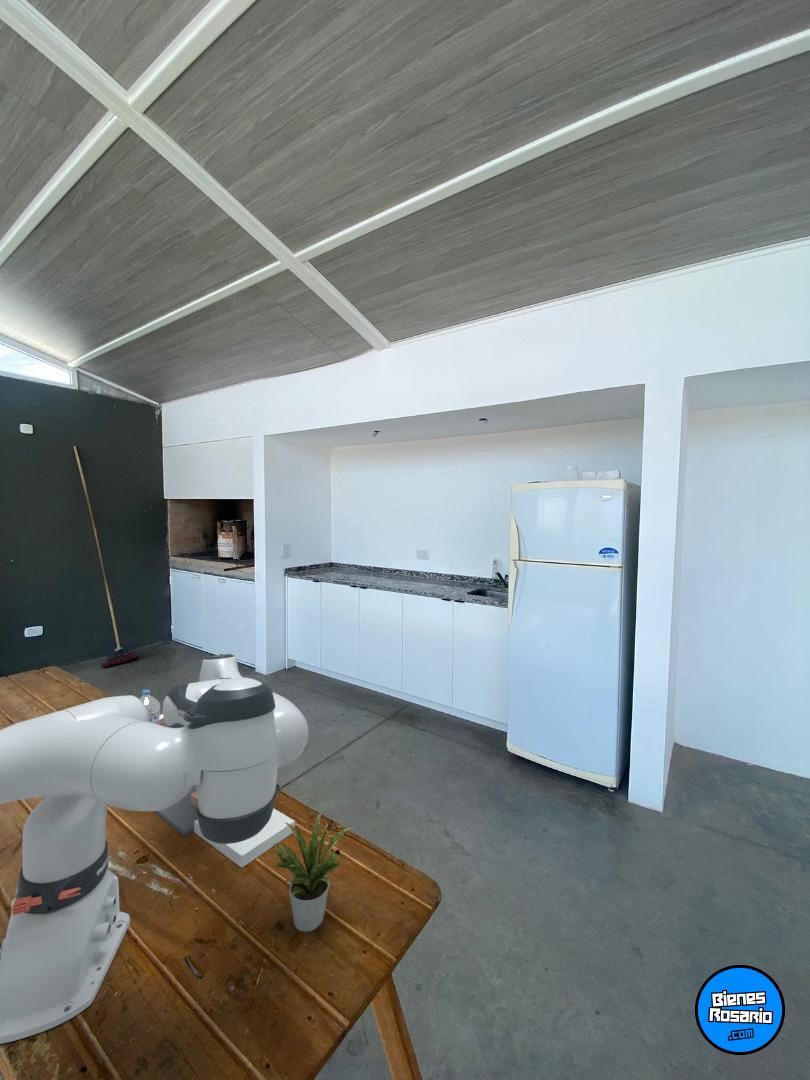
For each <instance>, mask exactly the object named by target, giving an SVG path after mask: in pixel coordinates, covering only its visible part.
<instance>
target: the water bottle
mask: <svg viewBox="0 0 810 1080" xmlns="http://www.w3.org/2000/svg"><path fill="white" fill-rule="evenodd" d="M150 694H151V690H150V689H144V690H142V691H141V696H140V698H139V697H138V699H140V700H141V701H142V702H143V703H144V705H145V706H146V708H147V710H148V713H149V717H150V722H151V723H155V724H159V725H160V715H161V714H160V710H161V704H160V702H159V701H158V699H156V697H154V696H152V695H150Z"/></svg>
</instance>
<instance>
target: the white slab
mask: <svg viewBox="0 0 810 1080" xmlns="http://www.w3.org/2000/svg"><path fill="white" fill-rule="evenodd" d="M285 822H286V823H288V824H290V825H292V826H293V827H294V828H296V825H295V824H296V820H294V819H292V818H291V817H289V816H287V815H285V814H284V813H283V812H280V811H279V810H277V809H276V808H273V812H272V815H271V818H270V820H269V822H268V823H267V824H266V825H265V827H264V828H263V829H262V830H261V831H260V832H259V833H258V834H256V835H255V836H253V837H251V838H249V839H247V840H244V841H241V842H237V843H231V844H219V843H215V842H212V841H210V840H208V839H206V838H205V837H204V836H203V835H202V833H201V830H200V827H199V823H198V819H197V820H195V821H194V831H193V833H195V834H196V835H198V836H199V837H200V838H201V839H203V840H204V841H206V843H208V844H209V845H210V846H211V847H214V848H215V850H218V851H219V852H220V853H221V854H223V855H224V856H225V857H226V858H228V859H229V860H230V861H232V862H233V863H235V864H236V865H237V866H239V867H240V868H244V867H245V866H247V865H249V864H250V863H251V862H253V861H254V860H256V859H257V858H259V857H260V856H261V855H263V854H265V853H266V852H268V851H269V850H270V849H272V848H274V847H273V845H275V846H277V845H276V844H274V843H280V842H282V841H283V840H284V839H286V838H287V837H289V836H290V835H292V834H293V831H292V830H291V829H290V828H289V827H288V825H287V824H286V823H285ZM272 844H273V845H272ZM255 858H256V859H255Z"/></svg>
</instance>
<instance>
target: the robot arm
mask: <svg viewBox="0 0 810 1080" xmlns="http://www.w3.org/2000/svg"><path fill="white" fill-rule="evenodd" d="M238 667H239V666H238V659H237V657H236V656H235V655H233V654H229V653H226V654H217V655H216V654H215V655H210V656H207V657H205V658H204V659H203V660H202V662H201V667H200V671H199V678H198V679H199V681H196V682H185V683H182V682H181V683H177V684H175V685H174V686H173V687H172V688H170V690H169V691H168V692H167V693H166V695H165V696H164V699H163V703H162V717H163V720H164V722H165V725H161V724H160V723H159V724H155V723H151V722H150V717H149V713H148V710H147V708H146V706H145V705H144V703H143V702H142V701H141V700H140V699H139V697H137V696H134V695H131V694H128V695H117V696H116V695H115V696H110V697H108V696H107V697H102V698H98V699H96V700H91V701H89V702H85V703H82V704H78V705H74V706H71V707H67V708H64V709H61V710H58V711H54V712H51V713H47V714H44V715H41V716H37V717H34V718H31V719H27V720H23V721H19V722H17V723H14V724H11V725H8V726H7V727H4V728H1V729H0V804H5V803H9V802H15V801H20V800H21V801H22V800H29V799H38V798H39V799H41V798H44V799H43V800H41V801H40V802H39V803H38V804H37V805H36V806H35V807H34V808H33V810H32V811H31V812H30V813H29V815H28V817H27V819H26V820H25V823H24V826H23V829H22V867H21V869H20V871H19V875H18V880H17V882H16V883H17V884H16V896H15V897H14V899H13V900H11V912H10V917H9V921H8V924H7V925H8V926H7V930H6V932H5V938H4V939H2V940H1V942H0V1044H7V1043H10V1042H14V1041H17V1040H21V1039H25V1038H27V1037H32V1036H34V1035H38V1034H40V1033H44V1032H46V1031H48V1030H50V1029H53V1028H56V1027H58V1026H60V1025H61V1024H63V1023H66V1022H67V1021H69V1020H71V1019H72V1018H74V1017H76V1016H78V1015H79V1014H80V1013H82V1012H83V1011H84V1010H86V1009H87V1008H88V1007H90V1006H91V1005H92V1003H93V1002H94V1000H95V999H96V996H97V994H98V992H99V990H100V987H101V986H102V983H103V981H104V979H105V978H106V975H107V973H108V971H109V968H110V966H111V964H112V962H113V961H114V958H115V956H116V954H117V951H118V949H119V947H120V946H121V943H122V941H123V939H124V937H125V934H126V933H127V931H128V928H129V926H130V924H131V916H130V915H129V913H127V912H124V911H120V895H119V893H120V891H119V889H120V888H119V877H118V876H117V875H116V874H114V873H113V872H112V871H111V870H110V869H109V857H110V850H109V844H108V841H107V839H106V835H107V833H106V832H107V828H106V827H107V815H108V814H107V813H108V806H111V807H113V808H118V809H121V810H126V811H133V812H153V811H159V810H164V809H166V808H169V807H171V806H173V805H174V804H176V803H177V802H179V801H180V800H181V799H182V798H183V797H184V796H185V795H186V794H187V793H188V792H189V790H190V789H191V788H192V786H194V785H196V788H197V798H198V805H199V806H198V808H197V817H198V823H199V827H200V830H201V833H202V835H203V836H204V837H205V838H206V839H208V840H210V841H212V842H215V843H219V844H231V843H237V842H241V841H244V840H247V839H249V838H251V837H253V836H255V835H256V834H258V833H259V832H260V831H261V830H262V829H263V828H264V827H265V825H266V824H267V823H268V822H269V820H270V818H271V815H272V812H273V808H274V807H275V804H276V799H277V795H278V793H279V791H280V788H281V786H280V785H279V784H278V780H277V777H278V776H277V775H278V770H279V768H280V767H283V766H286V765H289V764H291V763H293V762H294V761H295V760H296V759H298V758H299V757H300V755H301V754H302V753H303V751H304V749H305V748H306V745H307V743H308V740H309V739H308V738H309V726H308V722H307V720H306V717H305V716H304V714H303V713H302V712H301V710H300V709H299V708H298V707H297V706H296V705H295V704H294V703H292V702H291V701H290V700H289V699H287V698H286V697H284V696H282V695H280V694H279V693H276V692H273V690H272V688H271V685H270V684H268V683H266V682H265V681H263V680H258V679H253V678H250V677H245V676H243V675H241V674H240V671H239V668H238ZM274 809H275V808H274Z"/></svg>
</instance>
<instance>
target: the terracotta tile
mask: <svg viewBox="0 0 810 1080" xmlns="http://www.w3.org/2000/svg"><path fill="white" fill-rule="evenodd" d="M190 803H191V804H193V805H194V806H195V807H197V808H198V806H199V805H198V798H197V791H196V792H194V793H192V794H191V795H190Z"/></svg>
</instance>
